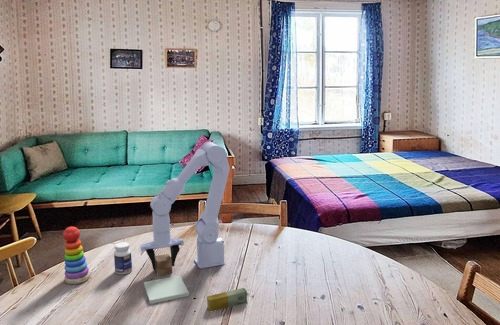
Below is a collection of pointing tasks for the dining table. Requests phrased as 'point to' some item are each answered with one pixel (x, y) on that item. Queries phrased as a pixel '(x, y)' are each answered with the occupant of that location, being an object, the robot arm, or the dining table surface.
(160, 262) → the walnut cube
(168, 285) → the sage tile
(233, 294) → the medication box
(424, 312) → the dining table surface
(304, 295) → the dining table surface
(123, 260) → the pill bottle
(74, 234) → the stacking toy
